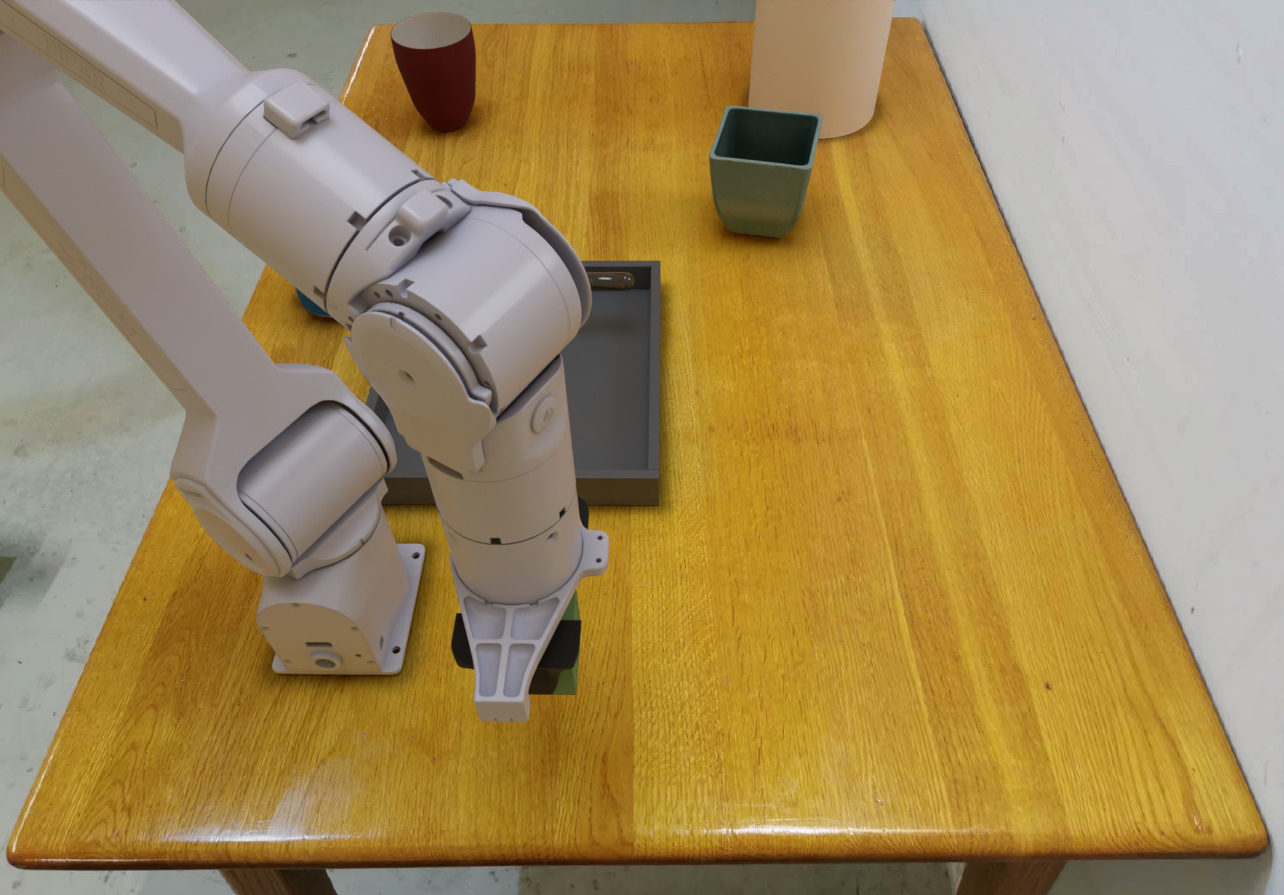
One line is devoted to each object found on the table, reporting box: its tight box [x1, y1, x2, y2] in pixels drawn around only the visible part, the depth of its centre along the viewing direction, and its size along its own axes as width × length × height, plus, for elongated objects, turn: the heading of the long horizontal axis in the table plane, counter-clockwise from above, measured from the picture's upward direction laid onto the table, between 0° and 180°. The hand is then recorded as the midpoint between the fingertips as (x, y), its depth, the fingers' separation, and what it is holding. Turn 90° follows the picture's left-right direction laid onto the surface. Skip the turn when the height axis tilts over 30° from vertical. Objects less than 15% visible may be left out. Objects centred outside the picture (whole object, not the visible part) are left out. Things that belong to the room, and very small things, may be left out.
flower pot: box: [708, 105, 823, 239], centre depth 83 cm, size 9×9×9 cm
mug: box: [390, 11, 477, 133], centre depth 95 cm, size 11×8×10 cm
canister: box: [747, 0, 896, 140], centre depth 92 cm, size 14×14×20 cm
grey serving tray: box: [364, 260, 662, 506], centre depth 71 cm, size 24×22×3 cm
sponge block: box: [529, 589, 582, 696], centre depth 47 cm, size 4×4×4 cm
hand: (538, 647), depth 48 cm, fingers closed on sponge block, 4 cm apart
